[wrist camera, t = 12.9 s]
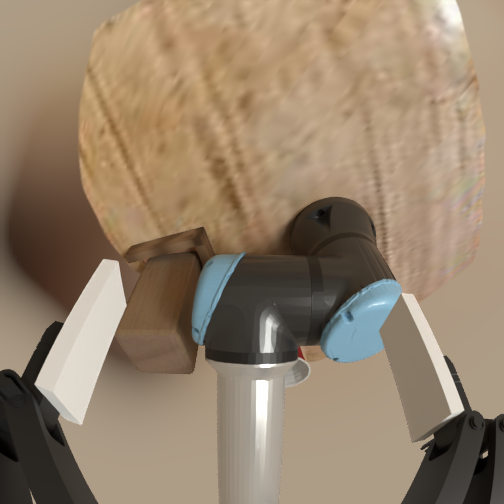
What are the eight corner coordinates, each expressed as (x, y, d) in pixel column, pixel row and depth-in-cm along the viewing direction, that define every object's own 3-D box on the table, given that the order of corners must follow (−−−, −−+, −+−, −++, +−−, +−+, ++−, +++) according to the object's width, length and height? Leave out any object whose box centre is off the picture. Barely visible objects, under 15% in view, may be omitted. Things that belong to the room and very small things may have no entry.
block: (210, 290, 57) (195, 376, 40) (163, 293, 58) (137, 374, 41) (199, 248, 52) (175, 335, 35) (148, 253, 52) (110, 334, 36)
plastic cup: (311, 317, 62) (319, 362, 52) (297, 347, 68) (301, 389, 58) (262, 311, 61) (263, 357, 51) (253, 342, 67) (252, 385, 57)
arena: (203, 226, 49) (200, 237, 47) (230, 291, 57) (228, 303, 55) (131, 246, 52) (125, 256, 49) (164, 303, 60) (160, 314, 57)
